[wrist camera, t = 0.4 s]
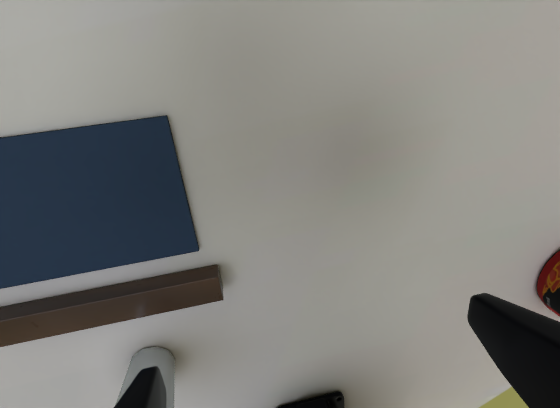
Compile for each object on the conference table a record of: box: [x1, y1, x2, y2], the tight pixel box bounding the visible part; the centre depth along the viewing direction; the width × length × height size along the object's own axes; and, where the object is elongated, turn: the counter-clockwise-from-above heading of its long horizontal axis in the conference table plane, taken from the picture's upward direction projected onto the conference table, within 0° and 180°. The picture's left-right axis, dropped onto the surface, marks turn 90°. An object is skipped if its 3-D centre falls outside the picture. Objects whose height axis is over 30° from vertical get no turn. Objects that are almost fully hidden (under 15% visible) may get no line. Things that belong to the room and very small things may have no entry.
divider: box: [0, 265, 223, 347], centre depth 22 cm, size 2×15×2 cm, turn 95°
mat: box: [0, 115, 199, 289], centre depth 20 cm, size 9×13×1 cm
